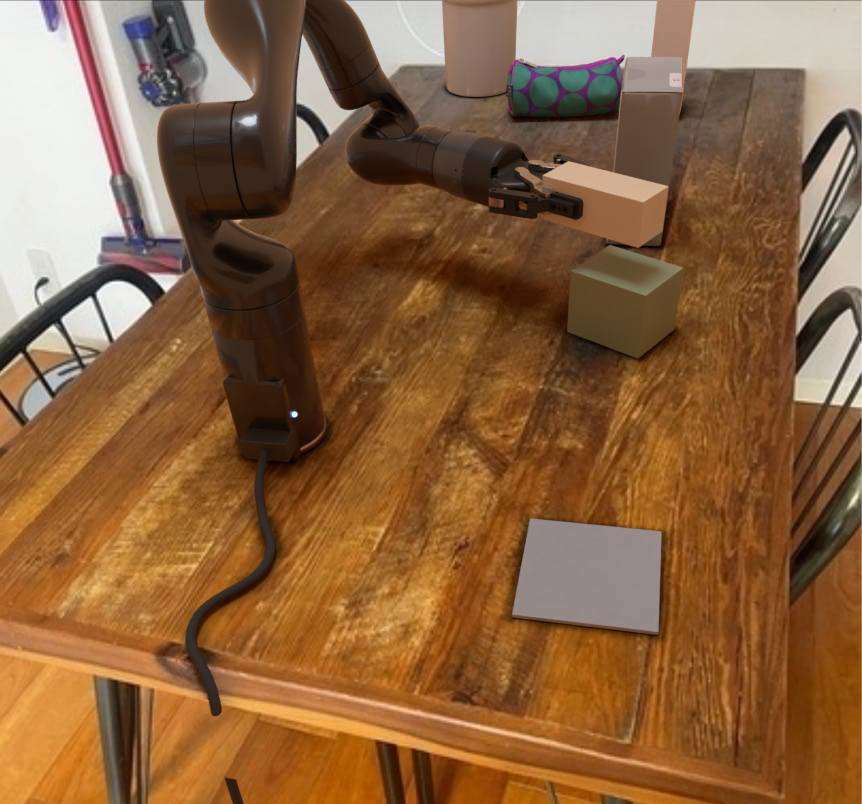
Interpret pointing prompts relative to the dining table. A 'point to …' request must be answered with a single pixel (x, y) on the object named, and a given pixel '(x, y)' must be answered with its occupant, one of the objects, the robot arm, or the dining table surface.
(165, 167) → the robot arm
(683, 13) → the pink rectangular pillar
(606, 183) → the carton
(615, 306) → the block
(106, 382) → the dining table surface
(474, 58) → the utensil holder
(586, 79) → the pencil case
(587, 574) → the mat
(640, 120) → the hard drive box
